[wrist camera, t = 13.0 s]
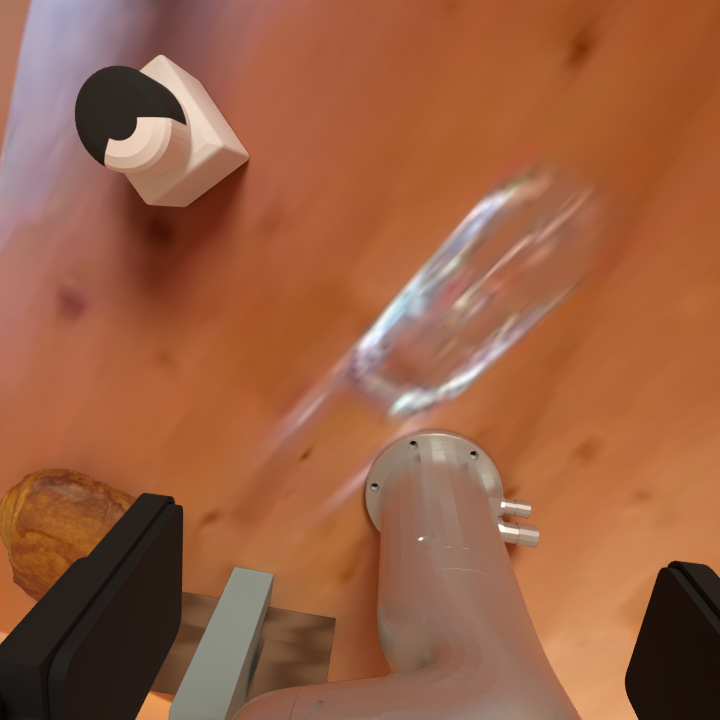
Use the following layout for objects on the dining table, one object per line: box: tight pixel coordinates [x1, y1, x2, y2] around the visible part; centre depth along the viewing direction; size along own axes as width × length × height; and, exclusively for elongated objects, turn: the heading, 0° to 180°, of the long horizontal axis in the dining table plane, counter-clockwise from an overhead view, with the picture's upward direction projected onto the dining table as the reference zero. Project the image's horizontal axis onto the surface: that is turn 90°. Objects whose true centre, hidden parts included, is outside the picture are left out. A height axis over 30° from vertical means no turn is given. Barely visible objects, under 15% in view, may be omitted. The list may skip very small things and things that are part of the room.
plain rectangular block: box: [169, 567, 274, 720], centre depth 47 cm, size 12×4×16 cm, turn 171°
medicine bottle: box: [75, 55, 249, 207], centre depth 37 cm, size 7×7×12 cm
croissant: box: [0, 469, 137, 602], centre depth 50 cm, size 14×16×8 cm
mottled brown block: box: [150, 592, 336, 699], centre depth 51 cm, size 18×4×8 cm, turn 81°
